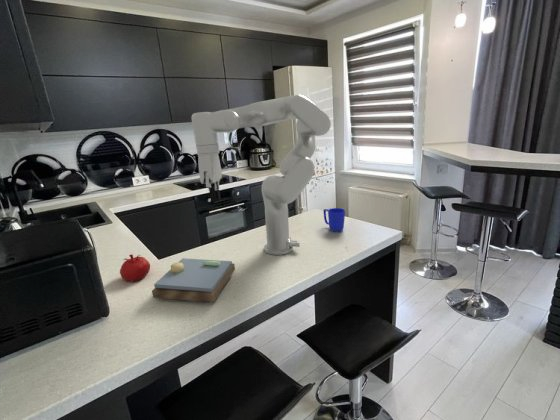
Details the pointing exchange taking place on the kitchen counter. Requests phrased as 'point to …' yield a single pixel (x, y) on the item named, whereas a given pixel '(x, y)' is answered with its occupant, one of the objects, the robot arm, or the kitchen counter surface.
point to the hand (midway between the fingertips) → (215, 200)
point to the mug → (335, 218)
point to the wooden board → (193, 294)
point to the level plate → (194, 275)
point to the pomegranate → (134, 268)
